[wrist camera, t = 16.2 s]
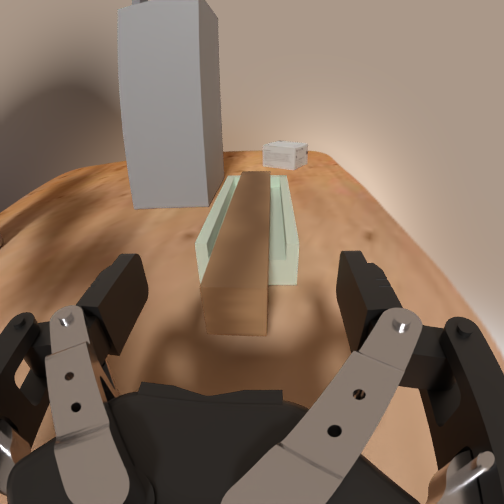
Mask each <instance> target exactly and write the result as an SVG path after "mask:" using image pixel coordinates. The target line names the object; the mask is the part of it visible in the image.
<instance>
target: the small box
mask: <svg viewBox="0 0 504 504" xmlns="http://www.w3.org/2000/svg"><path fill="white" fill-rule="evenodd" d="M307 153H308V144H307V143H298V142H288V141H277V142H273V143H269V144H265V145H263V166H264V167H273V168H281V169H288V170H295V169H297V168H299V167H301V166H303V165H306V164H307Z"/></svg>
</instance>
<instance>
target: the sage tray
mask: <svg viewBox="0 0 504 504" xmlns="http://www.w3.org/2000/svg"><path fill="white" fill-rule="evenodd" d="M270 178H271V203H270V245H269V279H268V285H297V272H298V256H299V240H298V234H297V228H296V223H295V217H294V212H293V207H292V201H291V196H290V191H289V186H288V181H287V176H286V175H270ZM239 179H240V176H228V177H227V179H226V181H225V183H224V185H223V187H222V189H221V191H220V193H219V195H218V197H217V199H216V201H215V203H214V205H213V207H212V209H211V211H210V213H209V215H208V217H207V219H206V221H205V223H204V225H203V227H202V229H201V232H200V234H199V236H198V238H197V240H196V242H195V249H196V257H197V264H198V271H199V278H200V284H201V281H202V279H203V276H204V273H205V270H206V267H207V264H208V262H209V259H210V256H211V253H212V251H213V248H214V245H215V242H216V240H217V237H218V234H219V231H220V229H221V226H222V223H223V221H224V218H225V215H226V213H227V210H228V207H229V205H230V202H231V199H232V197H233V194H234V191H235V189H236V186H237V184H238V181H239Z"/></svg>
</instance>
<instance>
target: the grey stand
mask: <svg viewBox="0 0 504 504" xmlns="http://www.w3.org/2000/svg"><path fill="white" fill-rule="evenodd" d="M218 45H219V44H218V18H217V16H216V15H215V13H214V12H213V11H212V9H211V8H210V6H209V5H208V4H207V2H206V1H205V0H151V1H148V0H132V5H131V6H128V7H125V8H121V9H118V74H119V90H120V91H119V92H120V105H121V116H122V127H123V136H124V144H125V153H126V161H127V168H128V175H129V181H130V188H131V194H132V200H133V205H134V209H149V208H174V207H209V205H210V203H211V201H212V199H213V197H214V196H215V194H216V192H217V190H218V188H219V186H220V184H221V183H222V181H223V179H224V162H223V144H222V123H221V102H220V75H219V46H218Z"/></svg>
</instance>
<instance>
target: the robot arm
mask: <svg viewBox="0 0 504 504" xmlns="http://www.w3.org/2000/svg"><path fill="white" fill-rule="evenodd" d="M2 244H3V239H2V236H1V233H0V247H1V245H2ZM336 295H337V301H338V305H339V308H340V312H341V316H342V319H343V323H344V326H345V330H346V334H347V338H348V341H349V345H350V349H351V353H352V354H351V355H350V356H349V358H348V359H347V361H346V362H345V363H344V365H343V366H342V368H341V369H340V370H339V372H338V373H337V375H336V376H335V377H334V379H333V380H332V381H331V383H330V384H329V385H328V387H327V388H326V389H325V391H324V392H323V393H322V394H321V396H320V397H319V398H318V400H317V401H316V402H315V403H314V405H313V406H312V407H311V408H310V410H309V409H308V408H306V407H303V406H301V405H299V404H296V403H292V402H289V401H284V400H283V395H282V390H243V391H237V392H232V393H226V394H219V395H213V396H205V395H201V394H198V393H194V392H191V391H188V390H185V389H182V388H179V387H176V386H173V385H163V384H155V383H147V382H141V385H140V388H139V391H138V392H132V393H127V394H124V395H121V396H120V395H119V392H118V389H117V387H116V384H115V381H114V379H113V376H112V373H111V370H110V367H109V364H108V362H107V360H106V357H107V355H108V354H110V355H117V356H120V353H121V351H122V349H123V347H124V345H125V343H126V341H127V339H128V337H129V335H130V333H131V331H132V329H133V327H134V324H135V322H136V320H137V318H138V316H139V315H140V313H141V311H142V309H143V307H144V305H145V303H146V301H147V298H148V284H147V280H146V276H145V273H144V269H143V265H142V261H141V258H140V256H139V254H120V255H119V256H118V258H117V259H116V260H115V261H114V263H113V264H112V265H110V266H109V267H108V268H106V269H105V270H103V271H102V272H101V273H100V274H99V275H98V277H97V278H96V279H95V281H94V282H93V283H92V284H91V287H89V288H88V290H87V291H86V292H85V293H84V295H83V296H82V297H81V299H80V300H79V301H78V303H77V304H76V306H75V305H70V306H66V307H63V308H61V309H59V310H58V311H57V312H55V313H54V314H53V316H52V317H51V319H50V321H49V322H42V323H37V321H36V319H35V317H34V316H33V314H32V313H29V312H25V313H21V314H19V315H17V316H15V317H14V318H13V319H12V320H11V321H10V322H9V323H8V324H7V326H6V327H5V329H4V330H3V331H2V333H1V334H0V493H1V494H3V495H6V496H7V501H8V504H420V503H419V502H418V501H417V500H416V499H415V498H413V497H412V496H411V495H410V494H408V493H407V492H406V491H405V490H403V489H402V488H401V487H400V486H398V485H397V484H396V483H395V482H394V481H392V480H391V479H390V478H389V477H388V476H386V475H385V474H384V473H383V472H382V471H380V470H379V469H378V468H377V467H376V466H375V465H373V464H372V463H371V462H370V461H369V460H368V459H366V458H365V457H364V456H363V455H362V454H361V452H362V451H363V449H364V447H365V446H366V444H367V442H368V441H369V439H370V437H371V436H372V434H373V432H374V431H375V429H376V427H377V425H378V424H379V422H380V420H381V418H382V416H383V415H384V413H385V411H386V409H387V407H388V405H389V403H390V401H391V399H392V397H393V395H394V393H395V391H396V389H397V387H398V386H403V387H410V388H418V389H419V391H420V395H421V398H422V402H423V406H424V409H425V413H426V417H427V421H428V425H429V429H430V433H431V437H432V442H433V446H434V451H435V456H436V461H437V466H438V471H437V472H436V473H435V474H434V476H433V477H432V479H431V480H430V483H429V487H428V499H427V502H426V504H504V374H503V372H502V370H501V368H500V366H499V364H498V362H497V360H496V358H495V356H494V354H493V352H492V351H491V349H490V347H489V345H488V343H487V341H486V340H485V338H484V336H483V334H482V332H481V331H480V329H479V328H478V326H477V325H476V324H475V323H474V322H472V321H471V320H469V319H466V318H463V317H453V318H450V319H449V320H448V321H447V322H446V324H445V327H444V328H437V327H430V326H424V325H422V322H421V319H420V318H419V317H418V316H417V315H416V314H415V313H414V312H412V311H410V310H407V309H404V308H403V307H402V305H401V303H400V301H399V300H398V298H397V296H396V294H395V292H394V290H393V288H392V287H391V285H390V283H389V281H388V280H387V277H386V276H385V274H384V272H383V270H382V269H380V268H379V267H378V266H377V265H375V264H374V263H367V261H366V260H365V258H364V256H363V254H362V252H361V251H342V252H341V254H340V261H339V269H338V277H337V285H336ZM23 358H24V360H25V361H26V363H27V364H28V366H29V367H30V371H29V373H28V375H27V376H26V378H25V380H24V382H23V384H22V386H21V388H20V389H19V388H18V387H17V385H16V384H15V379H14V376H15V372H16V370H17V369H18V367H19V365H20V364H21V362H22V360H23ZM49 403H50V406H51V412H52V417H53V423H54V428H55V433H56V437H55V438H53V439H51V440H50V441H48V442H47V443H45V444H44V445H42V446H41V447H39V448H38V449H36V450H34V451H33V452H31V448H32V445H33V442H34V440H35V437H36V435H37V432H38V430H39V427H40V425H41V422H42V420H43V417H44V415H45V413H46V410H47V408H48V406H49Z"/></svg>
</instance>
